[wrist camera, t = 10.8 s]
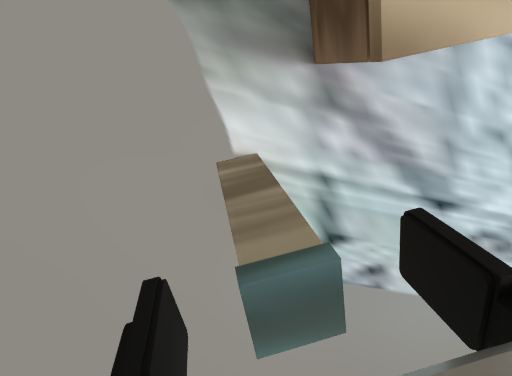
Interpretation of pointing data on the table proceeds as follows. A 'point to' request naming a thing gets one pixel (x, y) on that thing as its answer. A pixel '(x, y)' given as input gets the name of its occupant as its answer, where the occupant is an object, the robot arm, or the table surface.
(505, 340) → the robot arm
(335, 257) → the block
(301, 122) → the table surface
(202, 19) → the table surface
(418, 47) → the lid
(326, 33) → the wooden box with slot
